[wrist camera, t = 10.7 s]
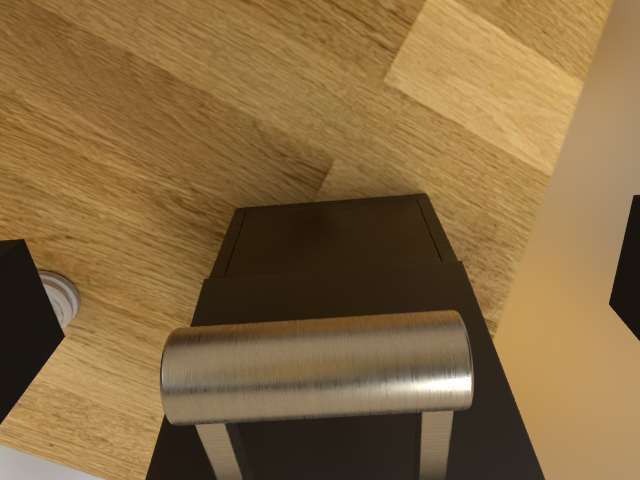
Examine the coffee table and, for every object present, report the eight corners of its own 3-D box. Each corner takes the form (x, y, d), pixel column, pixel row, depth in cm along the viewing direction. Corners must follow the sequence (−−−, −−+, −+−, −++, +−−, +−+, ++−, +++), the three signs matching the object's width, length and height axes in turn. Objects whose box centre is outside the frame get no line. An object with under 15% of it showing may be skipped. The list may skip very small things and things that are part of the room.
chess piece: (7, 289, 36) (-97, 390, 27) (47, 259, 35) (-47, 355, 26) (54, 328, 38) (-30, 436, 29) (94, 302, 36) (20, 405, 28)
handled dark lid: (593, 635, 12) (729, 429, 7) (107, 650, 13) (-75, 471, 8) (460, 273, 24) (477, 97, 19) (207, 290, 25) (158, 125, 20)
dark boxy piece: (424, 354, 38) (449, 450, 31) (264, 364, 39) (249, 460, 31) (427, 193, 32) (459, 262, 24) (235, 208, 33) (207, 279, 25)
